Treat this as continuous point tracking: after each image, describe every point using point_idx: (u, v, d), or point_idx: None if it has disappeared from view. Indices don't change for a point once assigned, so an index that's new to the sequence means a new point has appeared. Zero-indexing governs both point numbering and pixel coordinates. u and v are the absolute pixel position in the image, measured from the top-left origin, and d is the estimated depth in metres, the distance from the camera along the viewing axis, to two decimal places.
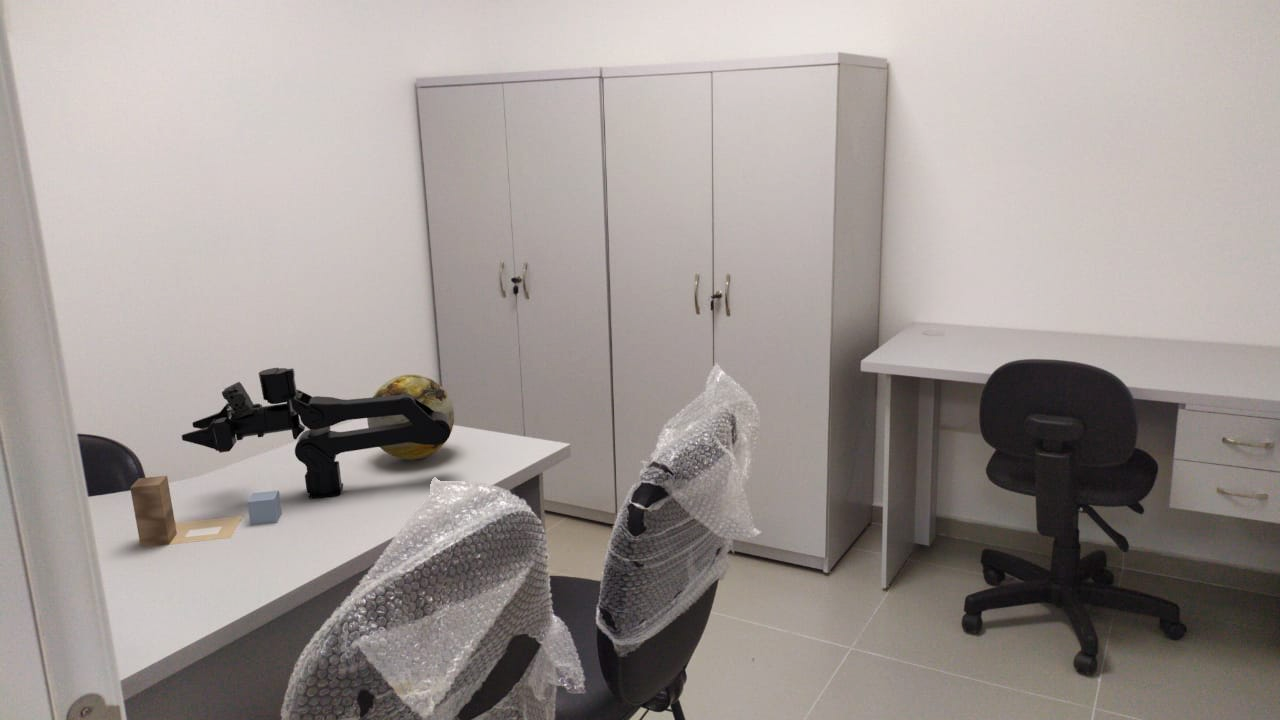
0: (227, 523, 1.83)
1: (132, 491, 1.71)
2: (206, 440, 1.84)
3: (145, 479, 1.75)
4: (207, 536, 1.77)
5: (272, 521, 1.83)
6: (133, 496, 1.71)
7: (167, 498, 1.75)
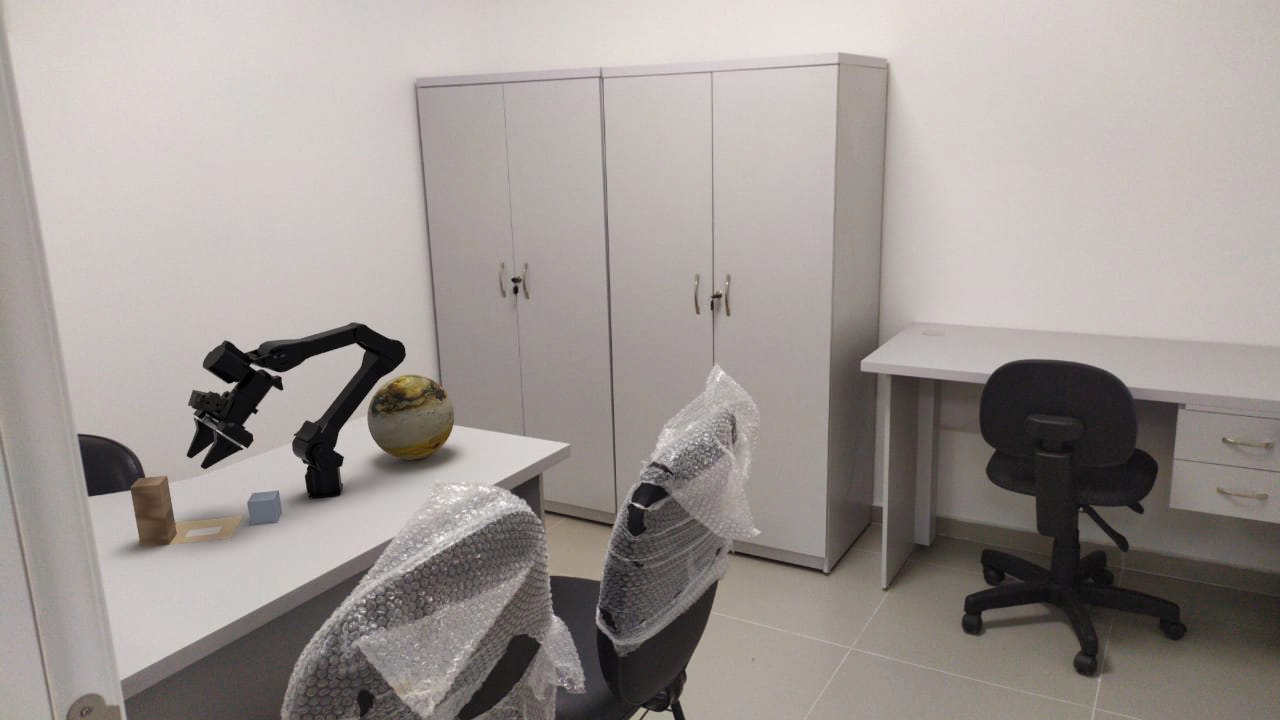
0: (227, 523, 1.83)
1: (132, 491, 1.71)
2: (224, 451, 1.76)
3: (145, 479, 1.75)
4: (207, 536, 1.77)
5: (272, 521, 1.83)
6: (133, 496, 1.71)
7: (167, 498, 1.75)
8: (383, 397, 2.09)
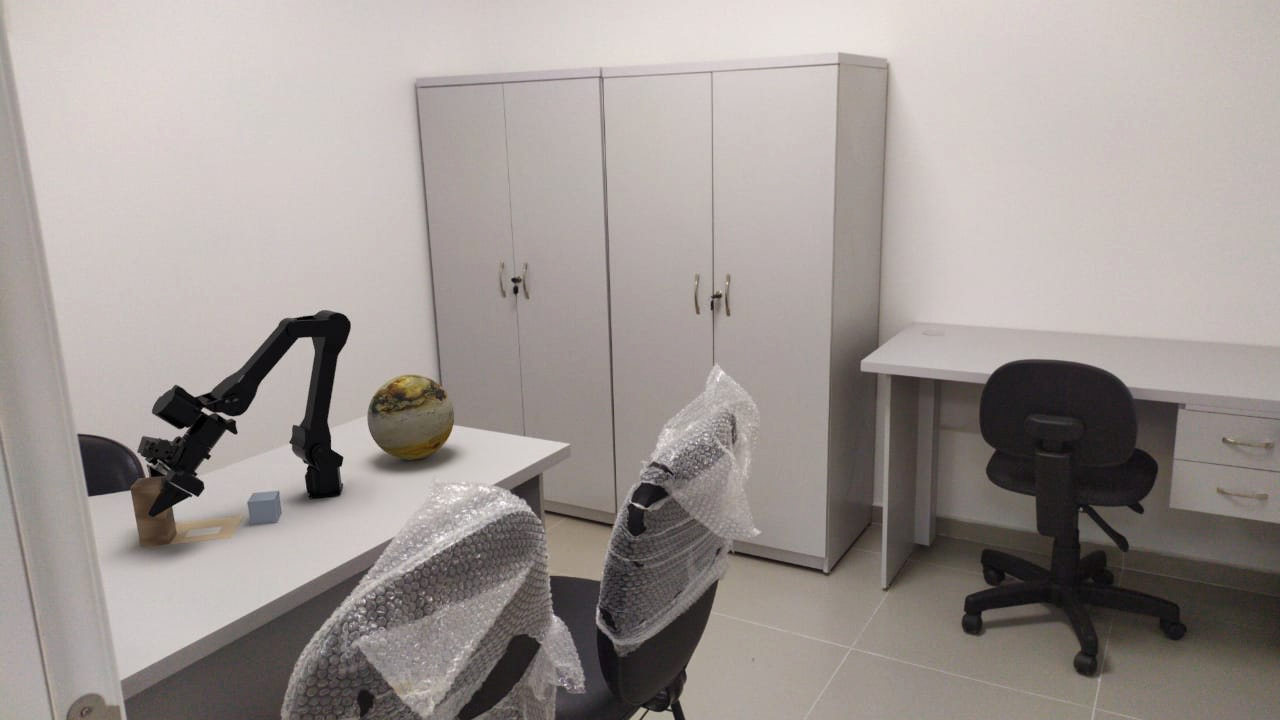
0: (227, 523, 1.83)
1: (132, 491, 1.71)
2: (173, 498, 1.72)
3: (145, 479, 1.75)
4: (207, 536, 1.77)
5: (272, 521, 1.83)
6: (133, 496, 1.71)
7: None
8: (383, 397, 2.09)
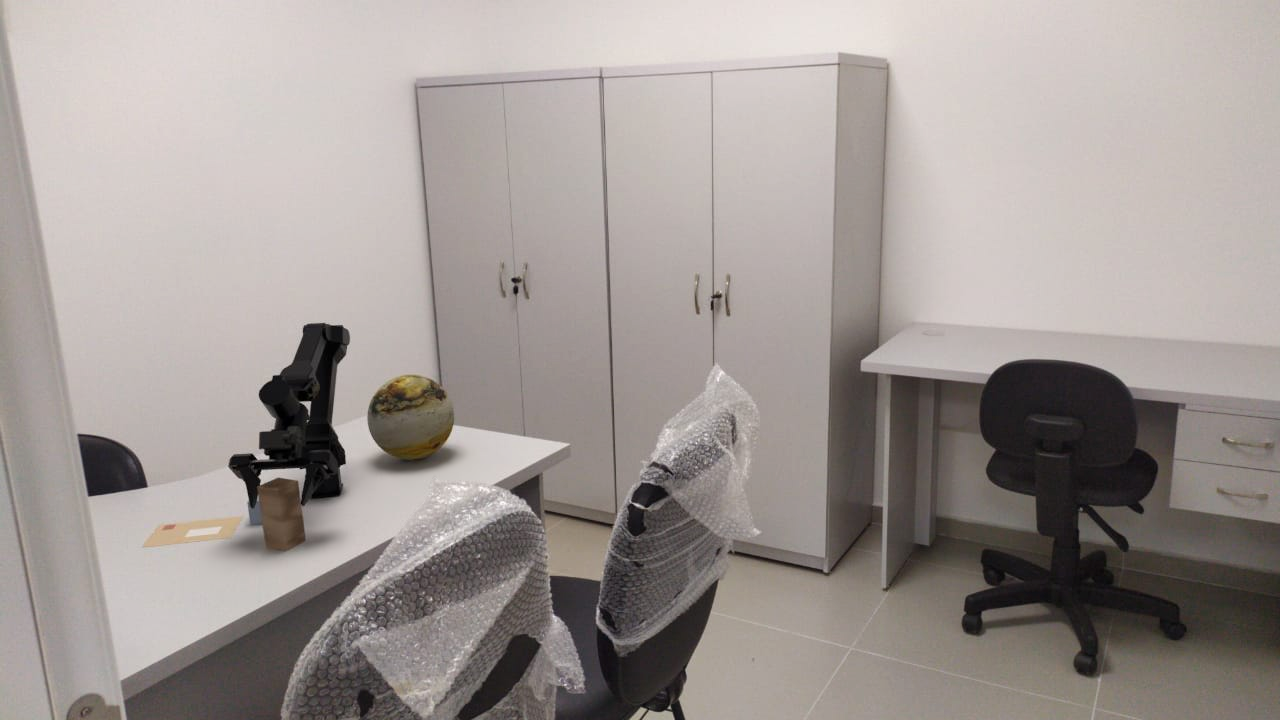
0: (227, 523, 1.83)
1: (278, 493, 1.67)
2: (314, 483, 1.73)
3: (266, 484, 1.70)
4: (207, 536, 1.77)
5: None
6: (279, 498, 1.67)
7: None
8: (383, 397, 2.09)
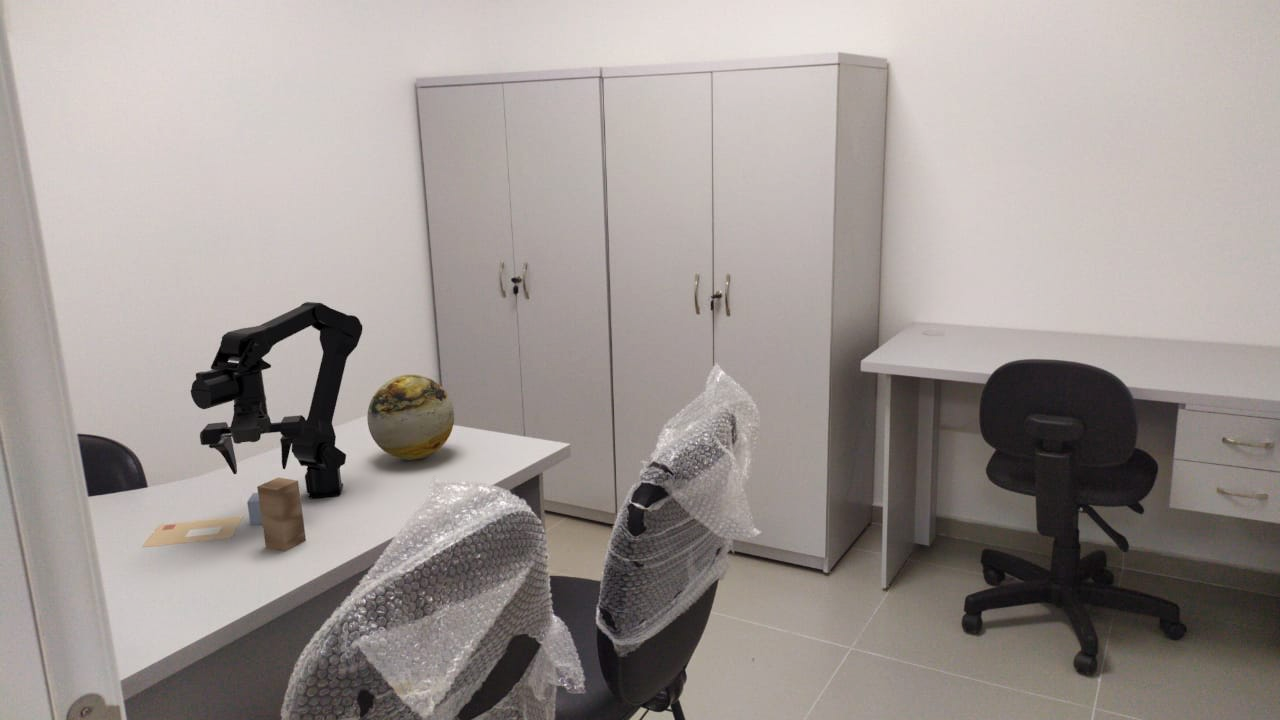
0: (227, 523, 1.83)
1: (278, 493, 1.67)
2: None
3: (266, 484, 1.70)
4: (207, 536, 1.77)
5: None
6: (279, 498, 1.67)
7: None
8: (383, 397, 2.09)
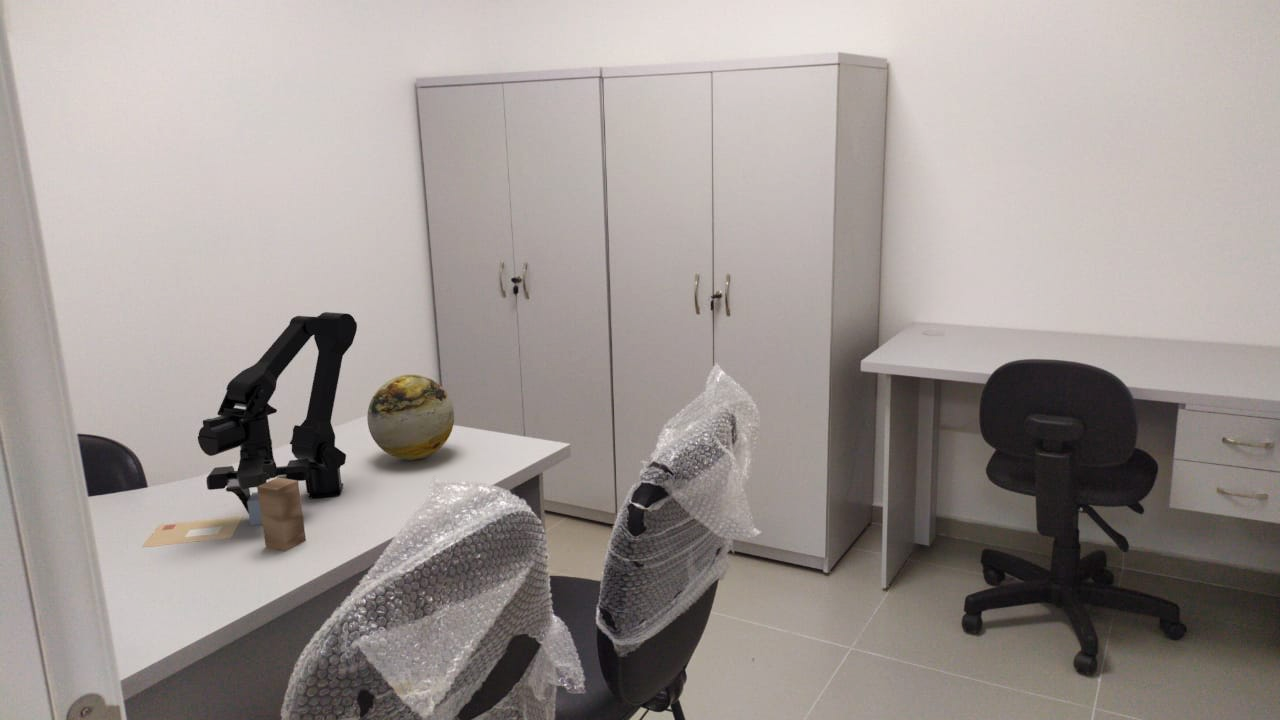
0: (227, 523, 1.83)
1: (278, 493, 1.67)
2: None
3: (266, 484, 1.70)
4: (207, 536, 1.77)
5: None
6: (279, 498, 1.67)
7: None
8: (383, 397, 2.09)
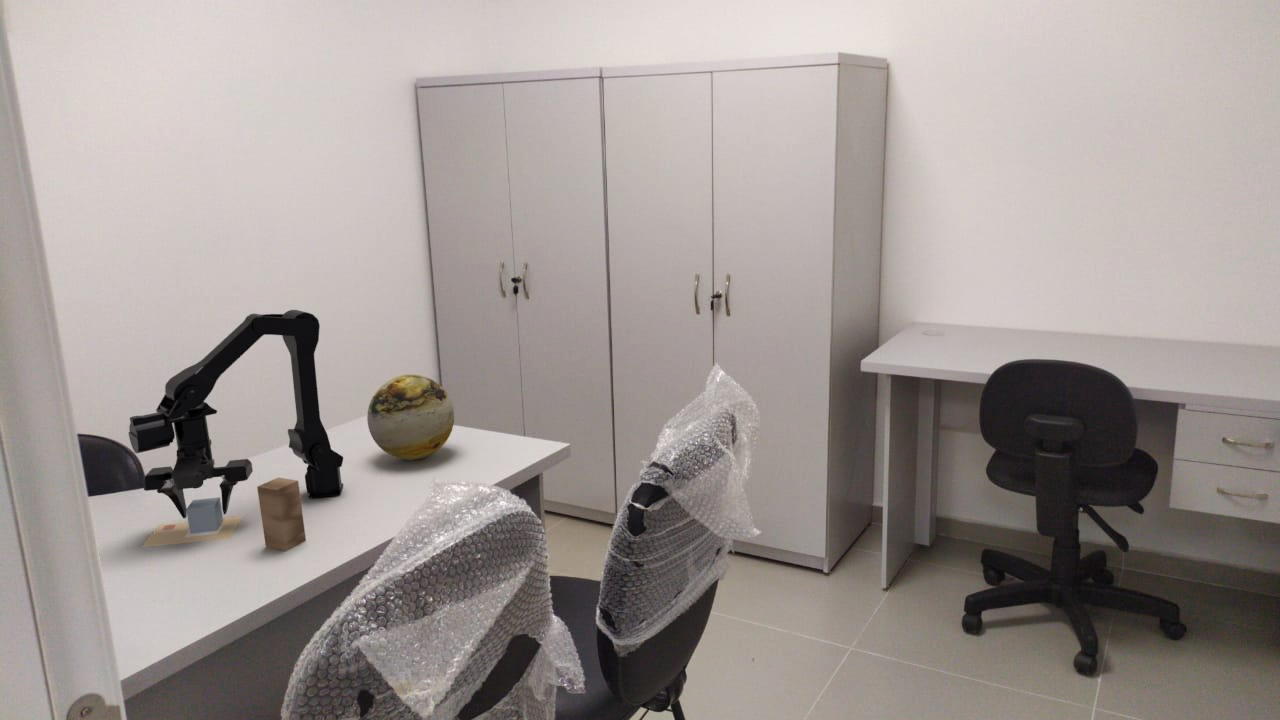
0: (227, 523, 1.83)
1: (278, 493, 1.67)
2: (229, 488, 1.82)
3: (266, 484, 1.70)
4: (207, 536, 1.77)
5: (212, 528, 1.80)
6: (279, 498, 1.67)
7: None
8: (383, 397, 2.09)
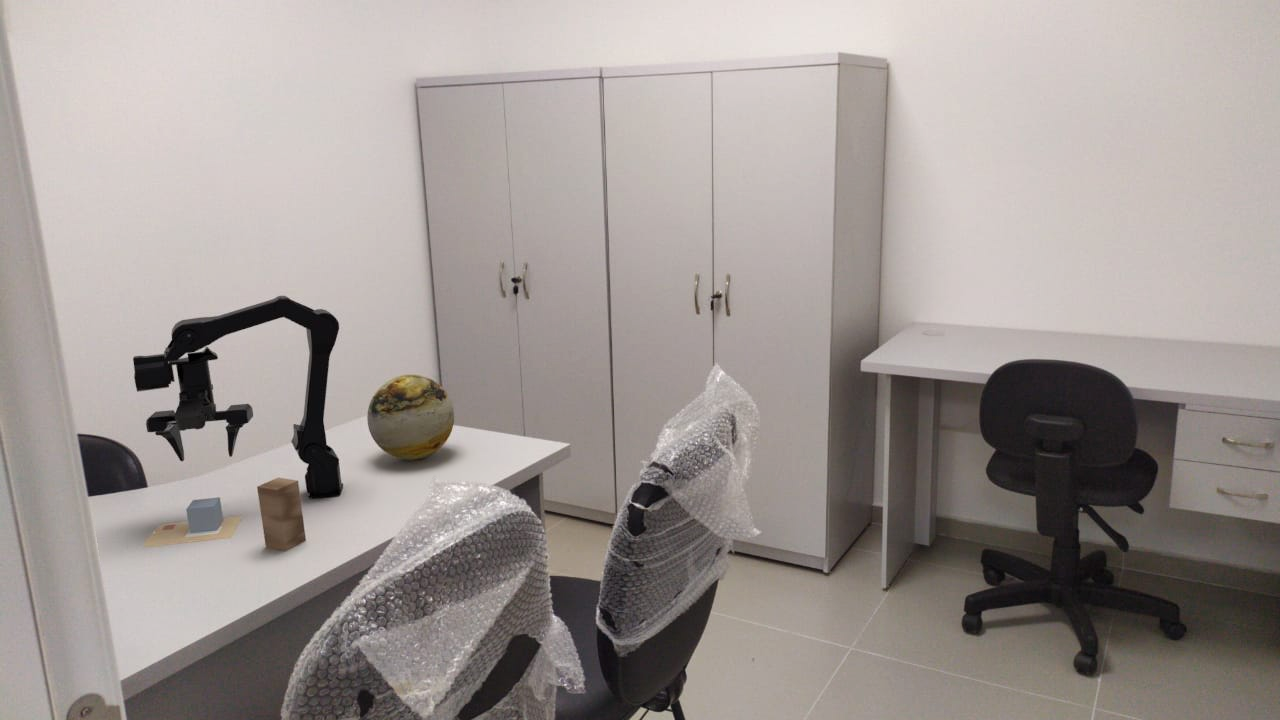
0: (227, 523, 1.83)
1: (278, 493, 1.67)
2: None
3: (266, 484, 1.70)
4: (207, 536, 1.77)
5: (212, 528, 1.80)
6: (279, 498, 1.67)
7: None
8: (383, 397, 2.09)
